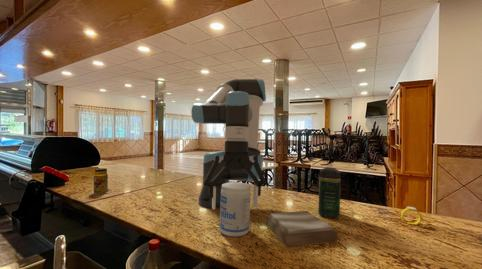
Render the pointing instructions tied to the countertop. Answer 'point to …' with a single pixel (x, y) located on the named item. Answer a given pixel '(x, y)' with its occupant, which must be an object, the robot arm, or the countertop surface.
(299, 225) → the plinth
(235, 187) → the supplement tub
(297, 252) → the countertop surface
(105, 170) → the condiment
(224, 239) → the countertop surface
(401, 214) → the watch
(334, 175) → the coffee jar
